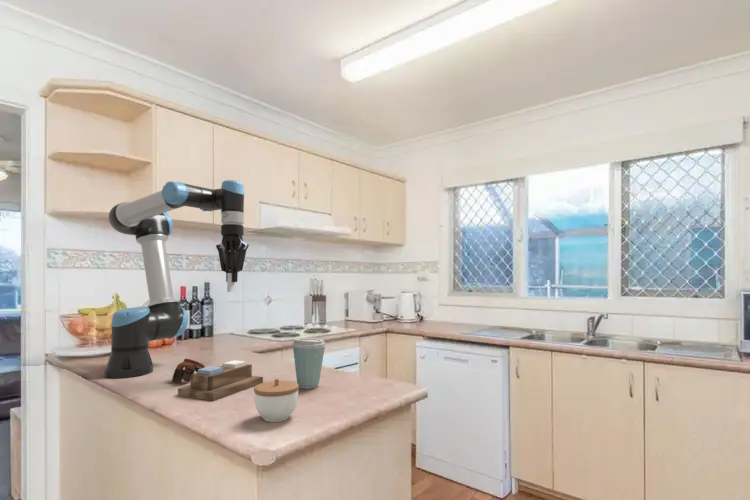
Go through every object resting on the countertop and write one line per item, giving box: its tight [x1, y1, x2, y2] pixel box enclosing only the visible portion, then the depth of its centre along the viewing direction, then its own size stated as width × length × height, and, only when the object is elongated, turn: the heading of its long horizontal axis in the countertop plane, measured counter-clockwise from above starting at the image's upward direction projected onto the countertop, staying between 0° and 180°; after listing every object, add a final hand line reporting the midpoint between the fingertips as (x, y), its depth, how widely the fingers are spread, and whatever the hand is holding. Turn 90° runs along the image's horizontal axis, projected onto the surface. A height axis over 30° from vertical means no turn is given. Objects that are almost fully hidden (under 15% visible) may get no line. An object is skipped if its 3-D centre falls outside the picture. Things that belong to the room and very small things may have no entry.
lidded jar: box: [253, 378, 299, 423], centre depth 104 cm, size 11×11×9 cm
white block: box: [222, 359, 247, 369], centre depth 135 cm, size 5×5×4 cm
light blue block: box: [197, 365, 223, 376], centre depth 126 cm, size 5×5×4 cm
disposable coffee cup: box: [291, 337, 326, 390], centre depth 133 cm, size 11×11×15 cm
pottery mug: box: [171, 358, 206, 385], centre depth 141 cm, size 12×10×8 cm
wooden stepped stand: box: [177, 363, 264, 402], centre depth 130 cm, size 14×21×6 cm, turn 156°
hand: (231, 291), depth 147 cm, fingers closed
